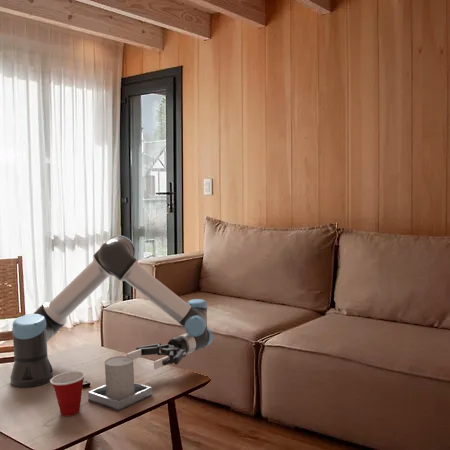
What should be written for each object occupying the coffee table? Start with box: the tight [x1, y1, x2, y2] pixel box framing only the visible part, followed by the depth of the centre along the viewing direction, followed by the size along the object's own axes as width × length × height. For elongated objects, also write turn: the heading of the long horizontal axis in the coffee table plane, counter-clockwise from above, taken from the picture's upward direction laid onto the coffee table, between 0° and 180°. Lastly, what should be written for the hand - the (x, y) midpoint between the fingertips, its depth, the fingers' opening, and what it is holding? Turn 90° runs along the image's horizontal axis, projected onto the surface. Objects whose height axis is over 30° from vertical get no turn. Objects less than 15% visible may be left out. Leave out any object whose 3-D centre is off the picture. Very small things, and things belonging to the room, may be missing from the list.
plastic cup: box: [49, 370, 86, 417], centre depth 181 cm, size 11×11×12 cm
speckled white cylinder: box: [104, 355, 135, 401], centre depth 192 cm, size 10×10×12 cm
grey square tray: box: [87, 381, 153, 412], centre depth 192 cm, size 15×15×3 cm
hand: (140, 361), depth 199 cm, fingers open, 13 cm apart
